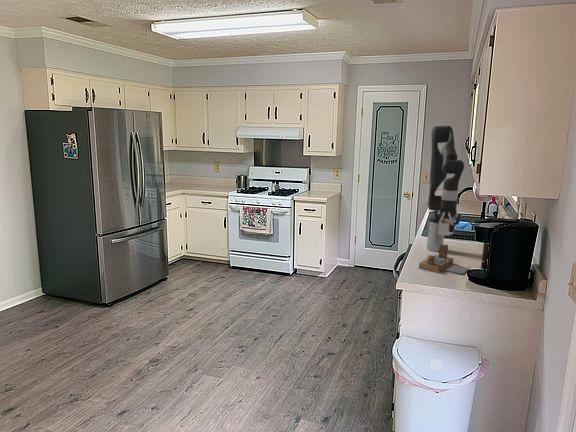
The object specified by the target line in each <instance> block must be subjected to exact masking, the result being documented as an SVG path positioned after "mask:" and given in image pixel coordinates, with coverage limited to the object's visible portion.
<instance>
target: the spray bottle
mask: <svg viewBox="0 0 576 432" xmlns="http://www.w3.org/2000/svg"><path fill="white" fill-rule="evenodd" d="M482 247H483V248H482V256H481V262H480V263H481V264H480V268H481V270H482V269H484V270H486V269H487V259H488V247H489V244H488V243H484V242H483V245H482ZM484 270H483V271H484Z"/></svg>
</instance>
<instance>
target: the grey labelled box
mask: <svg viewBox="0 0 576 432" xmlns="http://www.w3.org/2000/svg"><path fill="white" fill-rule="evenodd" d="M450 229H451V222H450V219H446V220H444V222H440V223H439V230H438V234H440V235H444V237H445V236H447V237H448V236H451V235H453V234H454V232H455V230H454V231H453V232H452V233H451V232H450Z"/></svg>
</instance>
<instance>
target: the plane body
mask: <svg viewBox="0 0 576 432" xmlns="http://www.w3.org/2000/svg"><path fill="white" fill-rule="evenodd" d="M448 250H449V244H444V243H443V244H441V245H440V247H439V251H438V254H434V255H427V258H426V259H424V260H422V261H421V262H419V263H418V268H419V269H421V270H425V271H429V272H433V273H439V272H442V271H443V270H445V269H446V268H448V267H450V266H451V265H454V258H453V257H450V256H448Z"/></svg>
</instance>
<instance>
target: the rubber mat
mask: <svg viewBox="0 0 576 432" xmlns="http://www.w3.org/2000/svg"><path fill="white" fill-rule="evenodd" d="M443 270H444V272H446V273H452V274H455V275H461V276H463V275H464V274H466V273H468V272H469V271H470V270H471V268H470V267H465V266H460V265H456V264H452V265H450V266H448V267H446V268H445V269H443ZM468 270H469V271H468ZM467 271H468V272H467Z"/></svg>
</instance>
